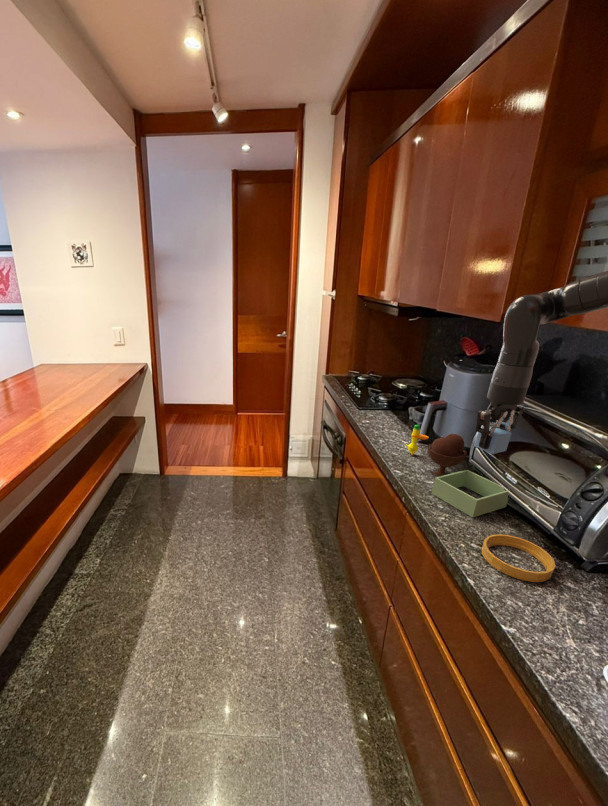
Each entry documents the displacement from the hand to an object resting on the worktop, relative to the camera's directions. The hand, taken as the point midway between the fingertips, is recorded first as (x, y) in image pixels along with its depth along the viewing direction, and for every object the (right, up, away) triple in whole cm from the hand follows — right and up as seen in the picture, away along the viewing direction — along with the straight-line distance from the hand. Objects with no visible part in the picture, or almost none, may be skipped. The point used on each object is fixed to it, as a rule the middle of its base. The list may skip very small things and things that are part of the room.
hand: (490, 446), depth 99 cm
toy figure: (-1, -6, +39) cm, 39 cm away
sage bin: (+1, -17, +12) cm, 20 cm away
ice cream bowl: (+2, -11, +26) cm, 28 cm away
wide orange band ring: (-3, -26, -12) cm, 29 cm away
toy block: (0, -1, 0) cm, 1 cm away
